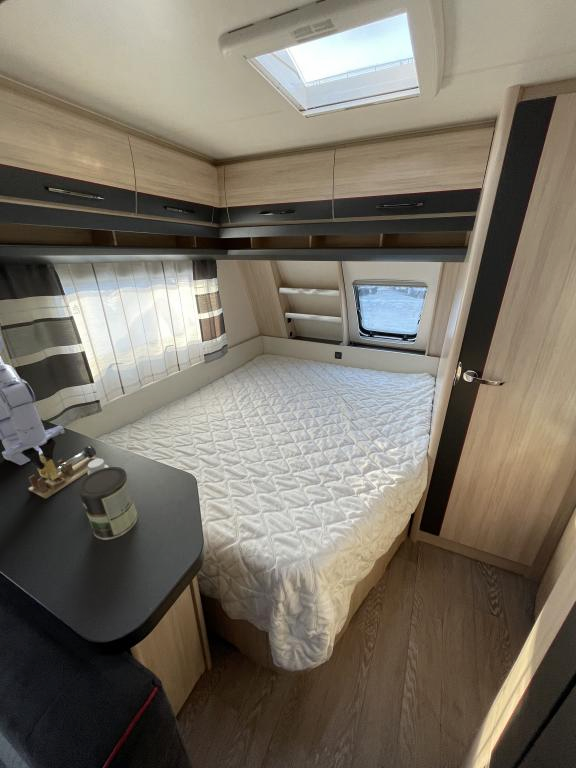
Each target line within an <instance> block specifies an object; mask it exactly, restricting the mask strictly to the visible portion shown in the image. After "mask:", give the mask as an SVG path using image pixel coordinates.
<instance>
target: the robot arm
mask: <svg viewBox="0 0 576 768" xmlns="http://www.w3.org/2000/svg"><path fill="white" fill-rule="evenodd" d="M3 348H4V342H3V338H2V337H1V335H0V354H2V353H3ZM35 402H36V396H35V393H34V391H33V389H32V387H31V386H30V385H29V383H28V382H27V381H26V380H25V379H23V378H21V377H20V376H19V375H18V373H17V371H16V370H15V369H14V367H13V366H12V365H9V364H5V363H4V360H3V358H2V356H1V355H0V440H1V443H2V445H3V448H4V450H3V451H2V452H1V454H2V456H3V457H2V458H4V459H5V460H6V461H11V462H12V463H15V464H17V465H19V466H22V465H25V464H27V463H28V462H31V463H33V464H34V465H35V467H36V469H37V468H39V469H43V468H44V467H43V464H42V462H41V460H40V456H39V455H42V456H44V457H47V458H50V459H52V461H53V462H54V457H53V456H54V450H55V446H56V443H57V441H55V439H53V438H54V437H56V436H58V435H63V434H65V433H66V432H65V428H64V427H63V426H61V425H57V426H55V427H52V428H49V429H46V430H45V427H44V424H43V422H42V419H41V417H40V415H39V412H38V409H37V406H36V405H35V404H36V403H35Z"/></svg>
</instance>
